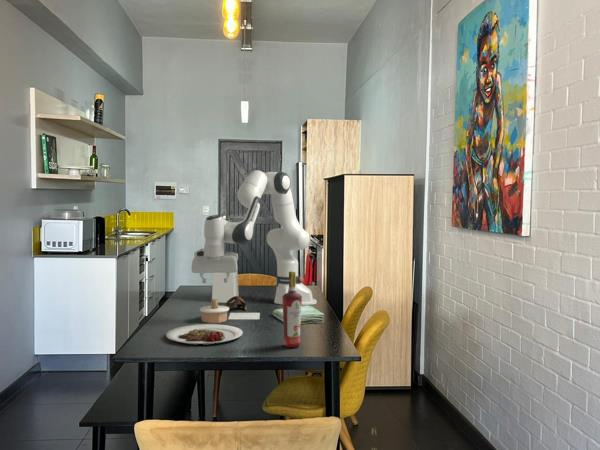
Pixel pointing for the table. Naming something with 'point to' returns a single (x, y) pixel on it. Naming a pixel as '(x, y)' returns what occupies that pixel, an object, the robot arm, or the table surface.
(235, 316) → the mat
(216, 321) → the bowl
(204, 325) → the plated food
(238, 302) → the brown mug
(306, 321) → the towel
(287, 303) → the liquor
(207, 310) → the lid
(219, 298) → the milk
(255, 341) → the table surface
